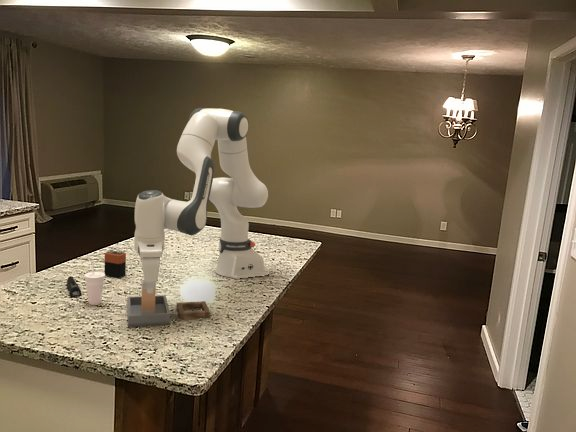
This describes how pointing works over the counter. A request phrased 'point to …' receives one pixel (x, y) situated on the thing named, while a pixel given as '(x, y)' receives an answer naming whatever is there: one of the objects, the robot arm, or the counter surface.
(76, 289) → the electric trimmer
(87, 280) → the smoothie
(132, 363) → the counter surface
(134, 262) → the counter surface
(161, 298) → the tray
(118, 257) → the battery
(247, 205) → the robot arm
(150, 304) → the block
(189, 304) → the frame
